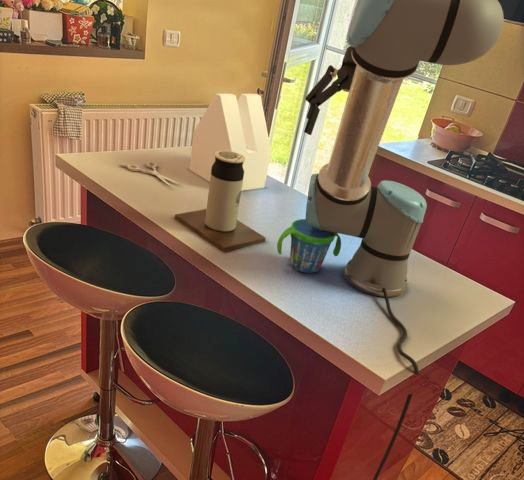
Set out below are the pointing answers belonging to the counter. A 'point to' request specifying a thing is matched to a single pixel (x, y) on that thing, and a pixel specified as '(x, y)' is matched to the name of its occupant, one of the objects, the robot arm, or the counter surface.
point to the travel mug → (224, 190)
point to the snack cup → (308, 246)
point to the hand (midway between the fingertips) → (329, 140)
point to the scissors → (154, 172)
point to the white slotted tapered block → (233, 137)
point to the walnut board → (220, 232)
